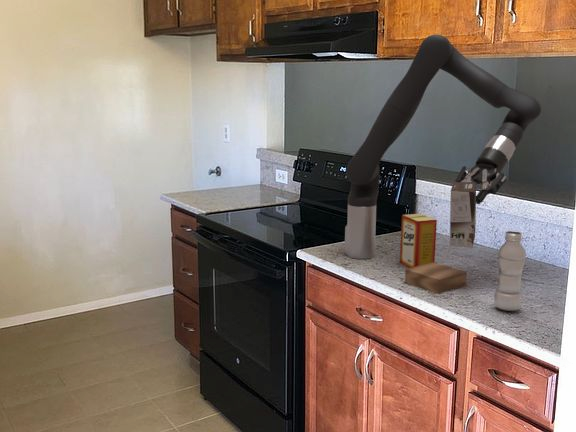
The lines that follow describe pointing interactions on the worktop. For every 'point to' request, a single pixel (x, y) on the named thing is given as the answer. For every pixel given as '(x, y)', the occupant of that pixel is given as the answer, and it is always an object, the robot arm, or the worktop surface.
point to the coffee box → (463, 214)
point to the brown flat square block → (435, 277)
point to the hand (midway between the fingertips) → (466, 200)
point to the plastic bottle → (510, 273)
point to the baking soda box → (417, 240)
